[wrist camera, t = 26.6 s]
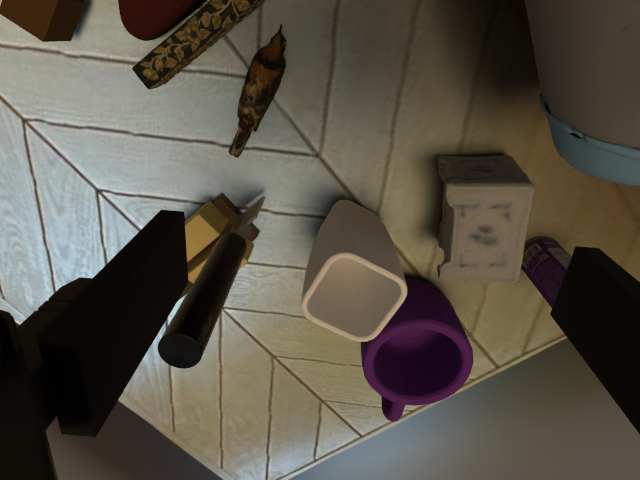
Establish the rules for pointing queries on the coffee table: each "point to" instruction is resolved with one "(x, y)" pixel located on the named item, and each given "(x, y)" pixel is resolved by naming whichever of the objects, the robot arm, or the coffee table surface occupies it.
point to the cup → (353, 274)
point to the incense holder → (483, 218)
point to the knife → (207, 296)
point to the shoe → (154, 16)
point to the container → (545, 266)
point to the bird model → (259, 89)
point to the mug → (418, 352)
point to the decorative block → (191, 40)
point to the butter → (206, 236)
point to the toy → (45, 17)
